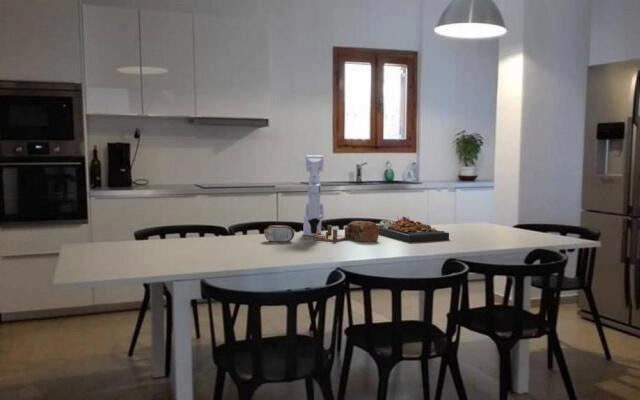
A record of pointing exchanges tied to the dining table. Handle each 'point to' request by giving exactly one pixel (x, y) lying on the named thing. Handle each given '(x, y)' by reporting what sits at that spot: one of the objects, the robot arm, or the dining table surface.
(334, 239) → the stool frame
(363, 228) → the bread
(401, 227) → the food platter
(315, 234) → the gate leg
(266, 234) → the tin
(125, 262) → the dining table surface
